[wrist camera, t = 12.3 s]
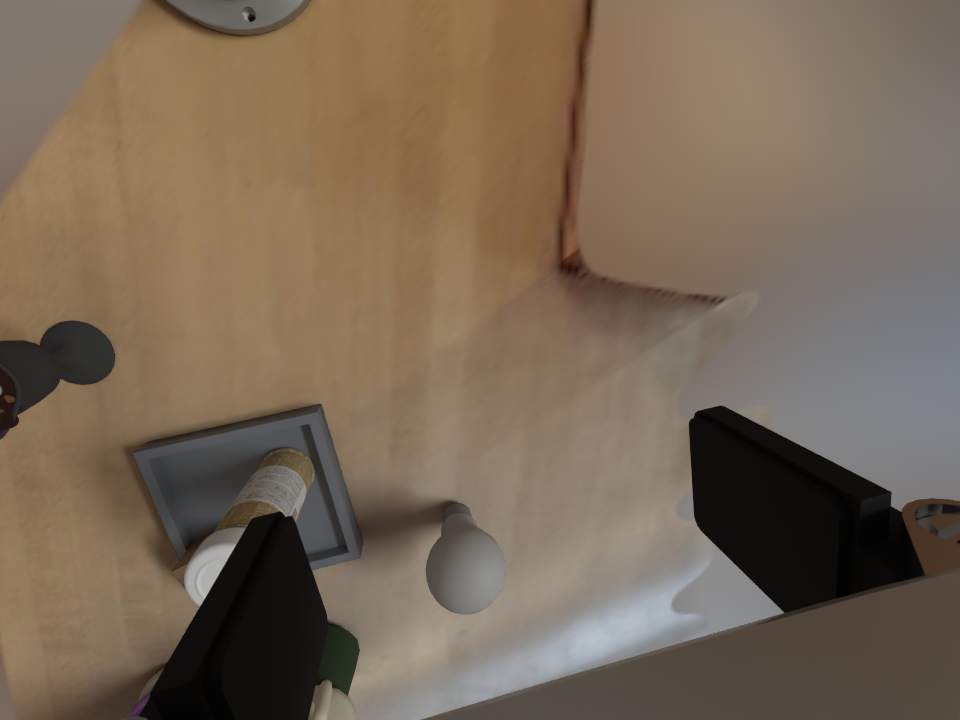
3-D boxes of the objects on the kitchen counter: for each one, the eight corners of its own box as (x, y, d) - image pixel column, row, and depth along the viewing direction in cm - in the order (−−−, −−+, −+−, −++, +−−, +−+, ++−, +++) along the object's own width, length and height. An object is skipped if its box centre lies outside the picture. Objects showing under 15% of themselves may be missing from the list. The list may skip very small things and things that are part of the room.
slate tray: (147, 442, 36) (132, 453, 34) (321, 404, 38) (316, 412, 36) (206, 582, 40) (196, 599, 38) (362, 543, 41) (360, 557, 39)
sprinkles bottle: (289, 505, 38) (229, 631, 26) (247, 471, 37) (161, 587, 24) (328, 469, 38) (287, 579, 25) (286, 434, 37) (221, 531, 24)
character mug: (305, 591, 42) (260, 738, 29) (379, 605, 43) (367, 751, 31) (274, 683, 44) (220, 858, 31) (346, 694, 45) (322, 864, 33)
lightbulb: (409, 513, 41) (408, 604, 31) (456, 468, 41) (472, 545, 30) (455, 550, 43) (470, 648, 33) (501, 507, 43) (530, 593, 32)
